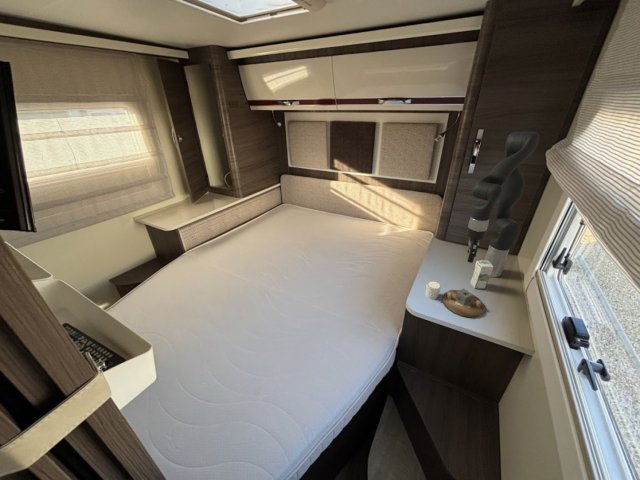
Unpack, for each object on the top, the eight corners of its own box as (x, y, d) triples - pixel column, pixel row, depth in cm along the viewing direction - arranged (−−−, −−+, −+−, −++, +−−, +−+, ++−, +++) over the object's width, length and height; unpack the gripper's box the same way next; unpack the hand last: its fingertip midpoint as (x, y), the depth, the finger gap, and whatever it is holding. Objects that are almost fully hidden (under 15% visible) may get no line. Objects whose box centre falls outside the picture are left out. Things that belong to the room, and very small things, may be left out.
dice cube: (463, 306, 125) (465, 297, 123) (454, 299, 129) (456, 291, 126) (470, 302, 127) (473, 294, 124) (461, 296, 131) (463, 288, 128)
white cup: (437, 301, 130) (440, 290, 127) (422, 297, 133) (425, 286, 130) (439, 294, 135) (442, 283, 132) (426, 289, 138) (428, 278, 135)
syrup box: (480, 282, 143) (487, 259, 136) (485, 289, 137) (493, 266, 130) (469, 282, 143) (476, 259, 136) (474, 289, 138) (481, 266, 131)
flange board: (444, 288, 139) (445, 282, 137) (483, 298, 131) (485, 292, 129) (440, 310, 125) (441, 303, 123) (483, 322, 117) (485, 316, 116)
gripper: (468, 219, 124) (461, 248, 132) (468, 232, 113) (460, 263, 121) (486, 221, 121) (478, 251, 129) (488, 235, 110) (479, 267, 118)
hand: (469, 257), depth 125 cm, fingers open, 8 cm apart
